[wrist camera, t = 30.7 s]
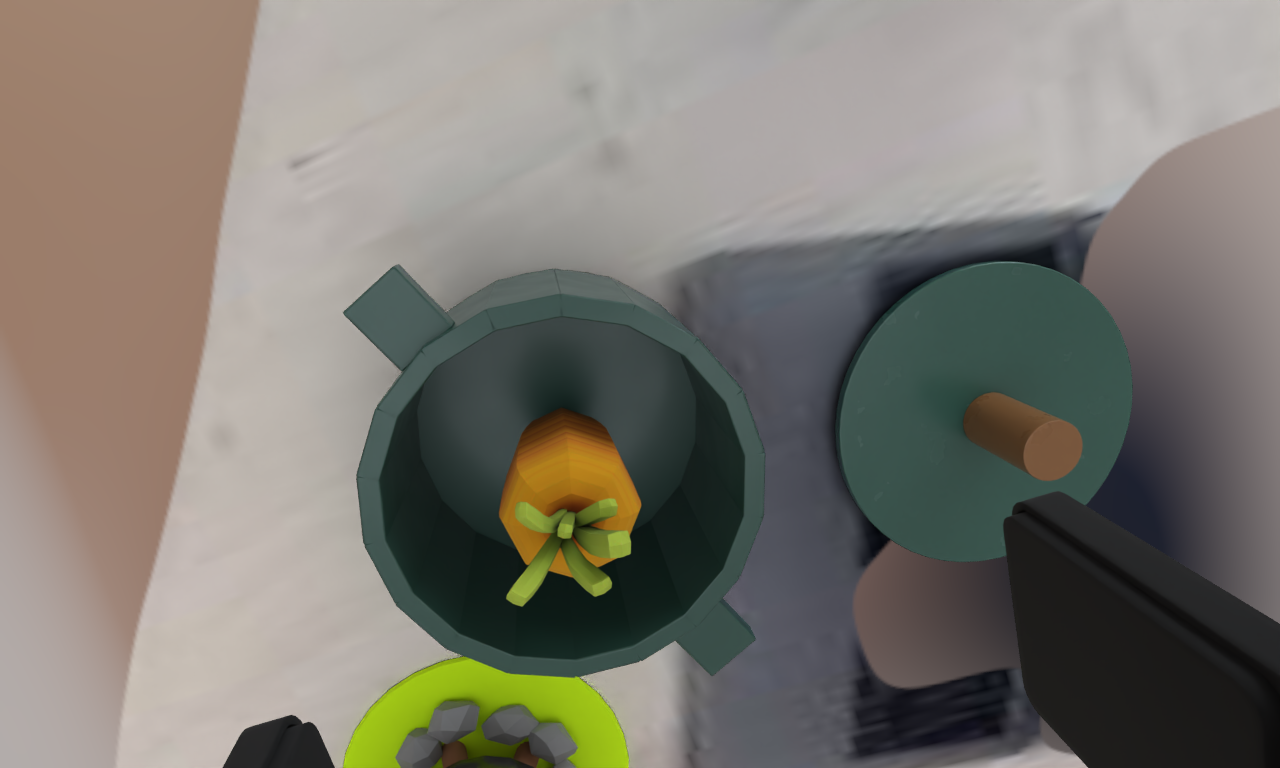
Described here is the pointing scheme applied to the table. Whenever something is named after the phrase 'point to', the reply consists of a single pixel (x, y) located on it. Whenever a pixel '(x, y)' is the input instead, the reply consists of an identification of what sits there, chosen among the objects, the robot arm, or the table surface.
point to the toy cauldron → (487, 722)
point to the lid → (981, 406)
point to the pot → (487, 440)
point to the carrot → (567, 503)
